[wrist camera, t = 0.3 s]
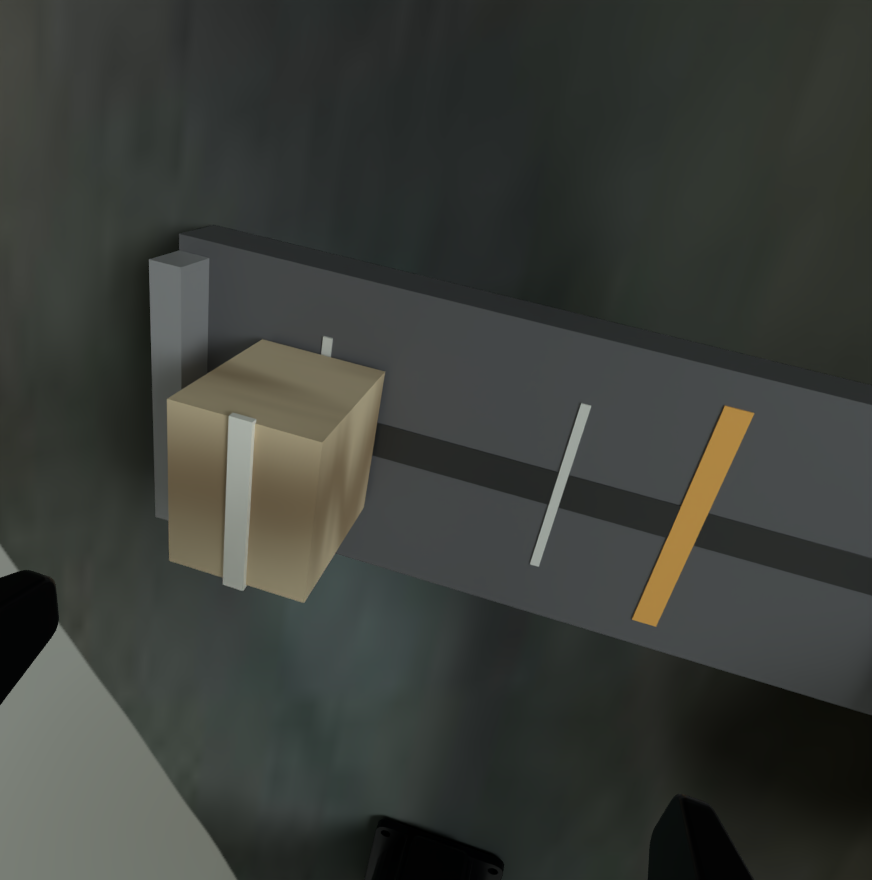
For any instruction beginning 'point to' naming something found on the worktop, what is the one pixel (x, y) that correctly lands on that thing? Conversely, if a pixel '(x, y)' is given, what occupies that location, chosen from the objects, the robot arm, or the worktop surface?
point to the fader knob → (270, 466)
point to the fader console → (567, 458)
